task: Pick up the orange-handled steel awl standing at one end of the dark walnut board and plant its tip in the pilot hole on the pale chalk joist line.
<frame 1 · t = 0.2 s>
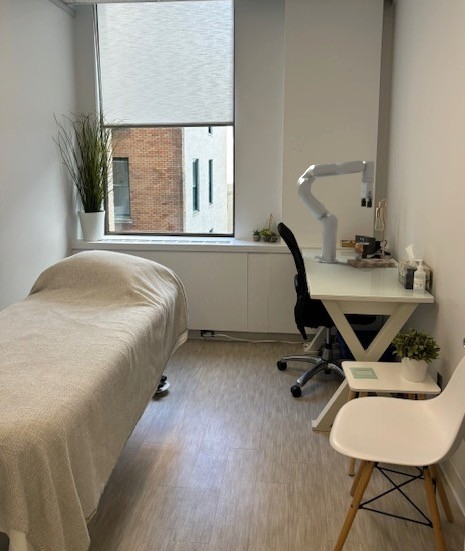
hand: (366, 207, 351), 36 cm above the table, tool pointing down, fingers open, 9 cm apart
board: (370, 264, 344), on the table
coffee mug: (363, 258, 372), on the table
awl: (358, 261, 343), point 2 cm above the table, touching board
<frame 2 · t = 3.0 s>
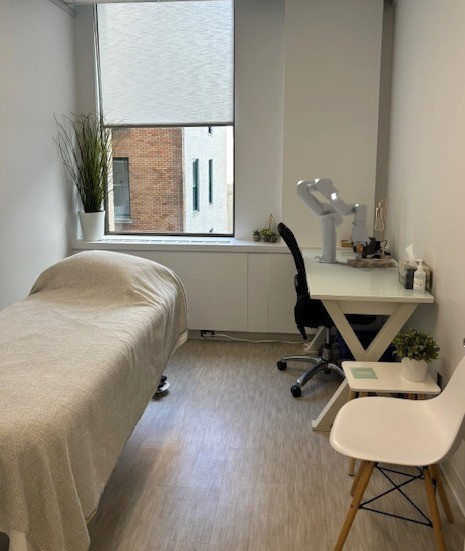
hand: (358, 252, 342), 8 cm above the table, tool pointing down, fingers closed on awl, 4 cm apart
awl: (358, 261, 343), point 3 cm above the table, touching board, gripper
everything else where it was.
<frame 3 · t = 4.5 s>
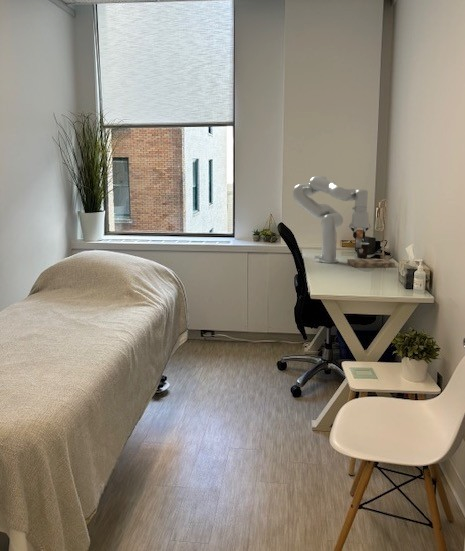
hand: (358, 237, 341), 17 cm above the table, tool pointing down, fingers closed on awl, 4 cm apart
awl: (358, 247, 342), point 12 cm above the table, touching gripper
everything else where it was.
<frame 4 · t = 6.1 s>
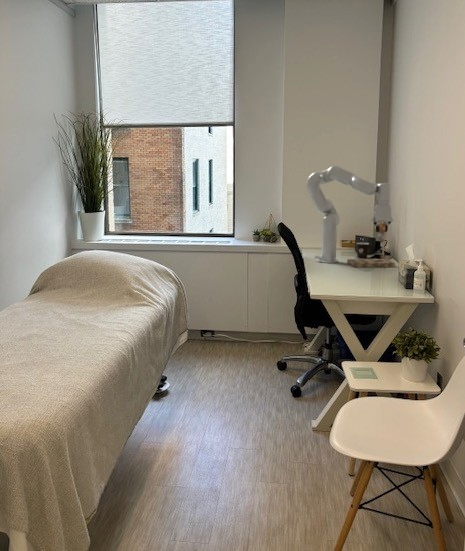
hand: (381, 231, 341), 21 cm above the table, tool pointing down, fingers closed on awl, 4 cm apart
awl: (380, 240, 342), point 16 cm above the table, touching gripper
everything else where it was.
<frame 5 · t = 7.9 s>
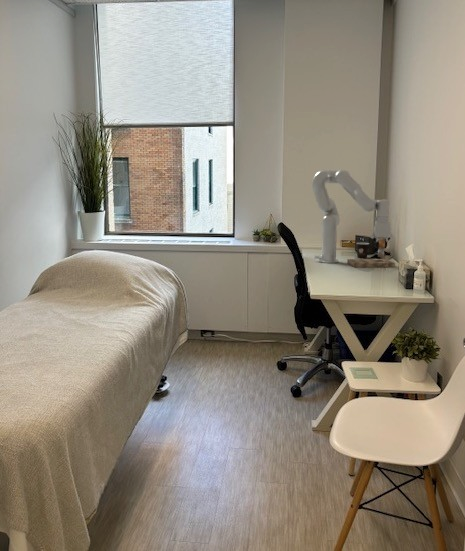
hand: (381, 247, 342), 11 cm above the table, tool pointing down, fingers closed on awl, 4 cm apart
awl: (380, 256, 343), point 5 cm above the table, touching gripper
everything else where it was.
when the fingers open (7 cm above the table, at t = 9.2 s): awl stays where it is, resting in board.
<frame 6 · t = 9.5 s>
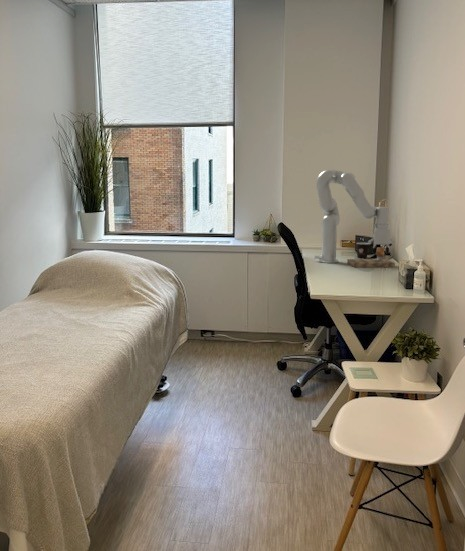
hand: (380, 253, 343), 7 cm above the table, tool pointing down, fingers open, 7 cm apart
awl: (379, 264, 345), resting in board
everything else where it was.
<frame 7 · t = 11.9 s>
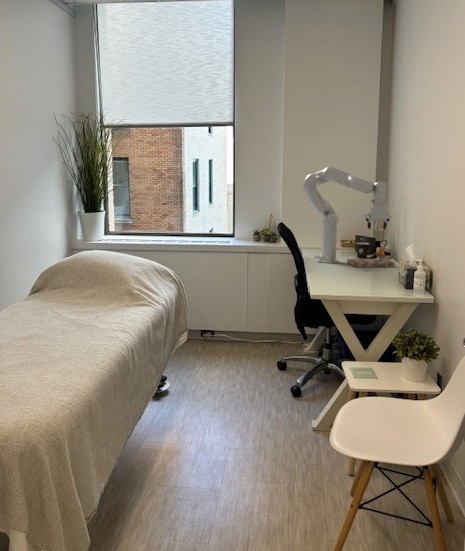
hand: (376, 228, 343), 23 cm above the table, tool pointing down, fingers open, 9 cm apart
nothing on the table moved.
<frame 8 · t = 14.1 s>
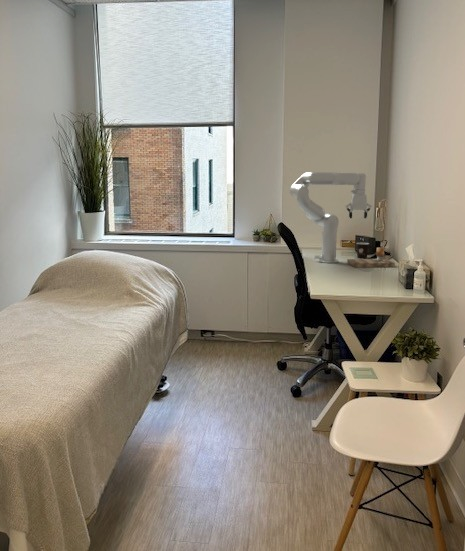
hand: (357, 218, 357), 28 cm above the table, tool pointing down, fingers open, 9 cm apart
nothing on the table moved.
at the end: awl 0.1 cm from the target spot on the board, point 0.0 cm above the board's base; awl tilted 0°; the gripper is holding nothing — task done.
